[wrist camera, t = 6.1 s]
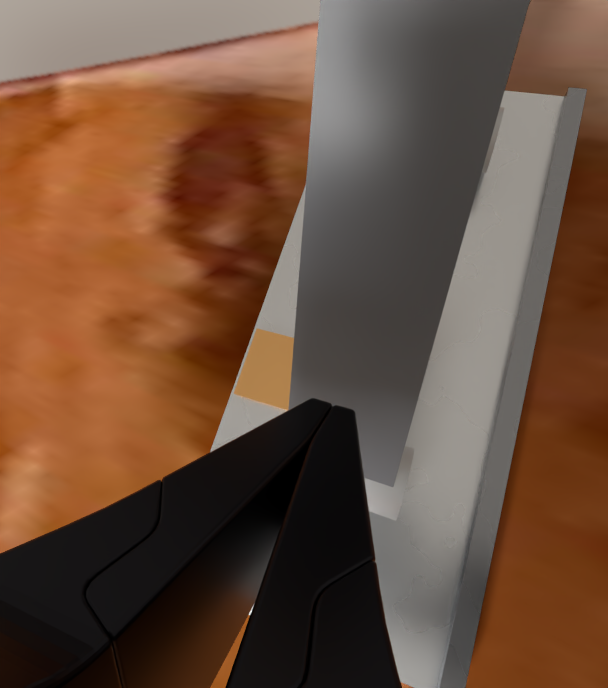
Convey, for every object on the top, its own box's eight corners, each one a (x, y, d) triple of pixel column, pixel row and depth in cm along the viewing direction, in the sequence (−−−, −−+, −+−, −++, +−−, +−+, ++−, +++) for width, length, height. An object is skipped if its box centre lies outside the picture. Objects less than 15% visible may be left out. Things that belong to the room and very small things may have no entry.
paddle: (391, 535, 12) (616, -201, 5) (269, 492, 13) (307, -185, 6) (403, 481, 14) (584, -131, 6) (294, 445, 15) (347, -127, 7)
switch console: (452, 689, 13) (459, 714, 11) (179, 571, 15) (159, 580, 14) (571, 118, 17) (587, 89, 16) (347, 94, 19) (344, 66, 18)
